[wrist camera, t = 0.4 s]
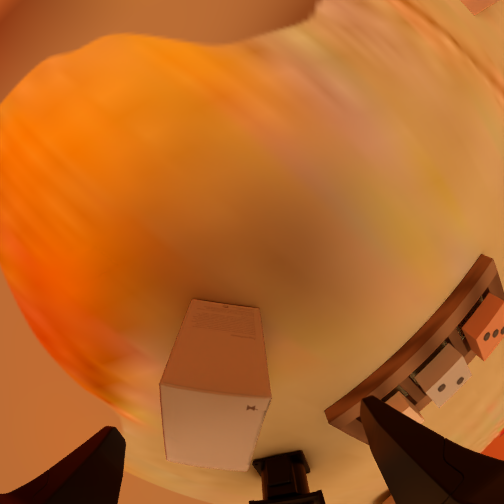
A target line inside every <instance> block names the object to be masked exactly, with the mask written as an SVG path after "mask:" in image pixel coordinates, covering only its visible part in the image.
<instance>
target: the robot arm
mask: <svg viewBox="0 0 504 504" xmlns="http://www.w3.org/2000/svg"><path fill="white" fill-rule="evenodd" d="M360 418H361V421H362V424H363V427H364V430H365V433H366V436H367V440H368V443H369V446H370V449H371V452H372V454H373V457H374V459H375V461H376V463H377V465H378V467H379V469H380V471H381V473H382V476H383V478H384V480H385V482H386V484H387V486H388V488H389V491H390V493H391V495H392V497H393V499H394V501H395V504H504V461H503V460H498V459H496V458H492V457H489V456H486V455H483V454H480V453H477V452H475V451H472V450H469V449H467V448H464V447H462V446H460V445H458V444H456V443H454V442H452V441H450V440H448V439H447V438H445V439H444V437H443V436H441V435H439V434H437V433H436V432H434V431H432V430H430V429H429V428H427V427H425V426H423V425H422V424H420V423H418V422H416V421H415V420H413V419H411V418H410V417H408V416H406V415H405V414H403V413H401V412H400V411H398V410H396V409H395V408H393V407H391V406H390V405H388V404H386V403H385V402H383V401H382V400H380V399H378V398H377V397H375V396H373V395H370V396H367V397H364V398H362V399H361V405H360ZM125 449H126V442H125V439H124V438H123V436H122V435H121V434H120V432H119V431H118V430H117V428H116V427H111V426H106V427H104V428H103V429H101V430H100V431H99V432H98V433H96V434H95V435H94V436H92V437H91V438H90V439H89V440H87V441H86V442H85V443H84V444H82V445H81V446H79V447H78V448H77V449H75V450H74V451H73V452H72V453H70V454H69V455H67V457H65V458H63V459H62V460H61V461H59V462H58V463H57V464H55V465H54V466H53V467H51V468H50V469H49V470H47V471H46V472H44V473H43V474H41V475H40V476H38V477H37V478H35V479H34V480H32V481H31V482H29V483H27V484H25V485H23V486H21V487H19V488H18V489H16V490H14V491H12V492H10V493H6V494H0V504H117V503H118V498H119V492H120V487H121V482H122V477H123V469H124V458H125ZM252 465H253V466H254V468H255V469H256V470H257V472H258V473H259V474H260V476H261V478H262V493H263V500H259V501H254V500H253V501H249V504H325V501H324V497H323V493H322V490H318V491H316V492H312V493H310V491H309V486H308V481H307V477H306V474H307V473H310V468H309V466H308V464H307V461H306V459H305V456H304V454H303V452H302V451H297V452H293V453H289V454H285V455H280V456H276V457H271V458H266V459H260V460H255V461H253V462H252Z"/></svg>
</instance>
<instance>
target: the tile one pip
mask: <svg viewBox="0 0 504 504" xmlns="http://www.w3.org/2000/svg"><path fill="white" fill-rule="evenodd" d="M385 403H386V404H388V405H390V406H391V407H393V408H395V409H396V410H398V411H400V412H401V413H403V414H405V415H406V416H408V417H410V418H411V419H413V420H415V421H416V422H418V423H420V424H421V423H422V422H424V421H425V420H424V418H423V417H422V416H421V414H420V413H419V411H418V410H417V408H416V407H415V406H414V405H413V404H412V403H411V402H410V401H409V400H408V399H407V398H406V397H405V396H404V395H403V394H402V393H401V392H400V391H398V392H397V393H396V394H395V395H394V396H392V397H391V398H390V399H389V400H387V401H386V402H385Z"/></svg>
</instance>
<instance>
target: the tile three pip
mask: <svg viewBox="0 0 504 504" xmlns="http://www.w3.org/2000/svg"><path fill="white" fill-rule="evenodd" d="M462 330H463V333H464V335H465V337H466V339H467V341H468V343H469V346H470V348H471V350H472V351H473V352H474V353H475V354H476V355H477V356H479V357H480V358H481V359H482V360H483V361H485V360H486V359H487V358H488V356H489V355H490V354H491V353H492V351H493V350H494V349H495V348H496V346H497V345H498V344H499V342H500V341H501V340H502V338H503V337H504V301H503V300H502V299H500V298H498V297H496V296H494V295H493V294H491V293H488V295H487V296H486V298H485V299H484V300H483V302H482V303H481V304H480V306H479V307H478V308H477V310H476V311H475V312H474V313H473V315H472V316H471V317H470V318H469V320H468V321H467V322H466V323H465V325H464V326H463V327H462Z"/></svg>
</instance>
